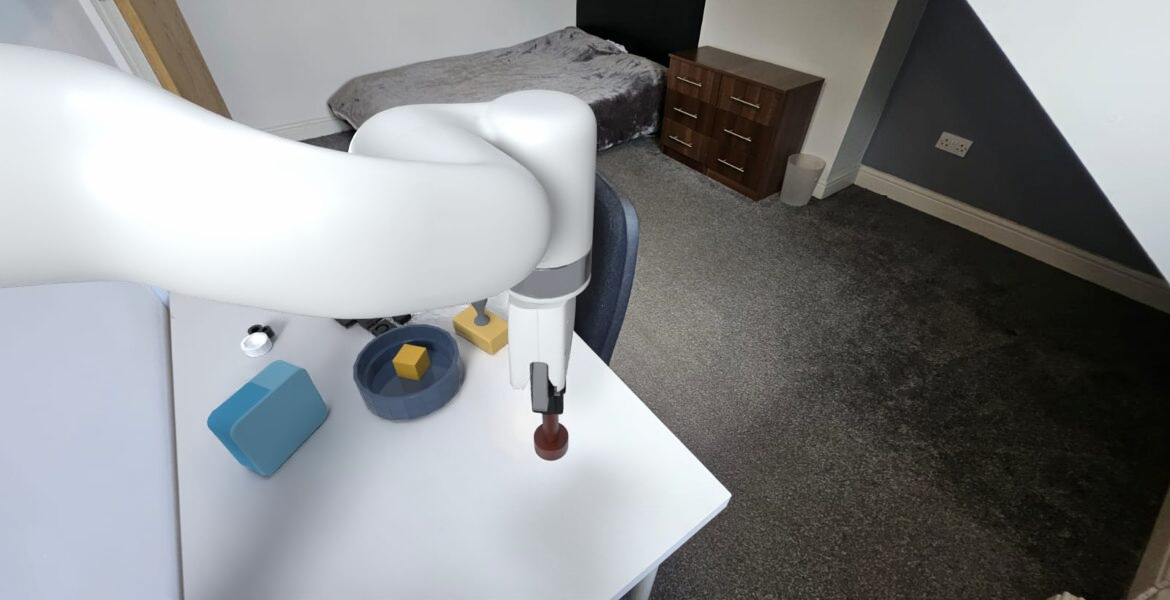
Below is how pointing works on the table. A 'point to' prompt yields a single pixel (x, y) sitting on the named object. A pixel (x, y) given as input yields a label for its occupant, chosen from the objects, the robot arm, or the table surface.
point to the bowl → (404, 394)
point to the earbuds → (260, 336)
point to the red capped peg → (551, 438)
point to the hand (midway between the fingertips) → (549, 400)
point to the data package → (269, 417)
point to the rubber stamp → (482, 327)
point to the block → (411, 362)
